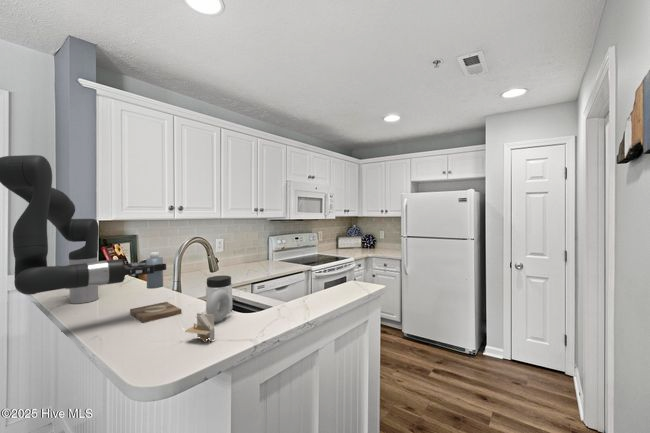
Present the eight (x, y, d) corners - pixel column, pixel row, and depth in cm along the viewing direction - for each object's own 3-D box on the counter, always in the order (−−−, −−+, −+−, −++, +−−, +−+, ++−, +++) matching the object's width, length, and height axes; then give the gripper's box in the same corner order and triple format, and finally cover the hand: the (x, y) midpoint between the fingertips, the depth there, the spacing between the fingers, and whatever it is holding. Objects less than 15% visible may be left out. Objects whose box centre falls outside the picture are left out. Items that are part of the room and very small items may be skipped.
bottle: (144, 287, 106) (144, 252, 106) (160, 284, 110) (159, 251, 110) (149, 289, 103) (149, 253, 103) (165, 286, 107) (164, 252, 107)
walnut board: (130, 313, 107) (130, 308, 107) (166, 305, 116) (166, 301, 116) (142, 322, 98) (142, 317, 98) (181, 313, 106) (181, 308, 106)
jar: (212, 307, 112) (211, 275, 112) (234, 307, 113) (233, 274, 112) (203, 316, 103) (202, 280, 103) (227, 315, 104) (227, 280, 104)
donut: (213, 327, 93) (212, 294, 93) (203, 326, 94) (203, 293, 94) (232, 316, 102) (231, 286, 102) (223, 315, 103) (223, 286, 103)
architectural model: (206, 347, 80) (206, 319, 80) (185, 344, 82) (184, 316, 82) (215, 342, 83) (214, 315, 83) (194, 339, 85) (193, 312, 85)
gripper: (110, 262, 91) (170, 256, 104) (99, 258, 101) (156, 253, 113) (110, 288, 91) (170, 279, 104) (100, 281, 101) (156, 273, 113)
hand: (162, 265), depth 108 cm, fingers closed on bottle, 5 cm apart
